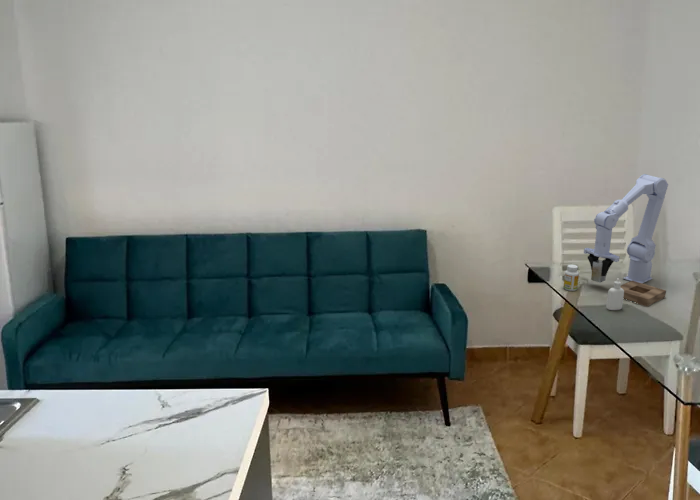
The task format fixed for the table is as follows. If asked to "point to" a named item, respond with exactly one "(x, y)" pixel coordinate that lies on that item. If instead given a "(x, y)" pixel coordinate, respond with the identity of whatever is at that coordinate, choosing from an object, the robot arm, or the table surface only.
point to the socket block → (642, 293)
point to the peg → (597, 271)
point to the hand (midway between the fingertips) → (598, 274)
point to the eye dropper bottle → (615, 296)
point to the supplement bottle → (571, 278)
